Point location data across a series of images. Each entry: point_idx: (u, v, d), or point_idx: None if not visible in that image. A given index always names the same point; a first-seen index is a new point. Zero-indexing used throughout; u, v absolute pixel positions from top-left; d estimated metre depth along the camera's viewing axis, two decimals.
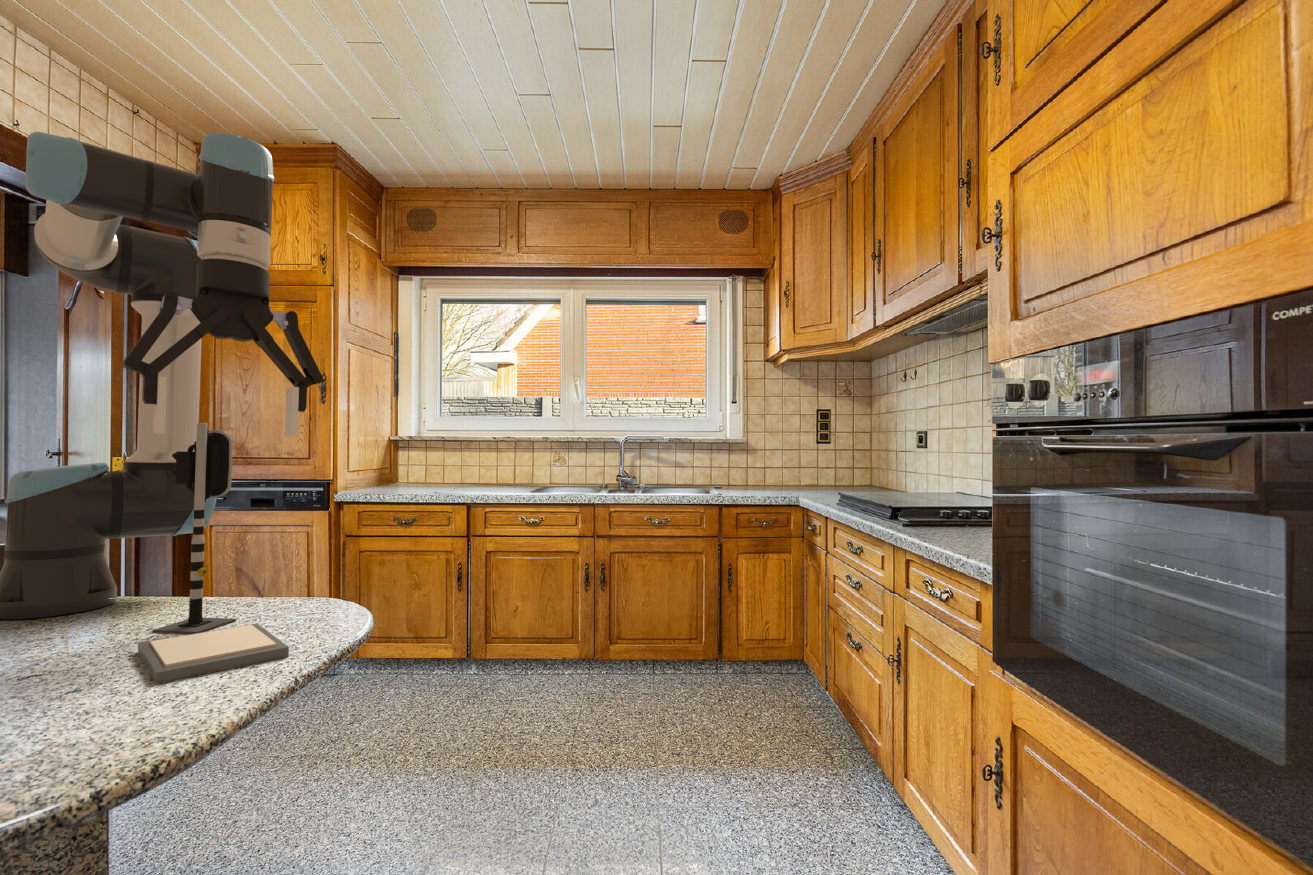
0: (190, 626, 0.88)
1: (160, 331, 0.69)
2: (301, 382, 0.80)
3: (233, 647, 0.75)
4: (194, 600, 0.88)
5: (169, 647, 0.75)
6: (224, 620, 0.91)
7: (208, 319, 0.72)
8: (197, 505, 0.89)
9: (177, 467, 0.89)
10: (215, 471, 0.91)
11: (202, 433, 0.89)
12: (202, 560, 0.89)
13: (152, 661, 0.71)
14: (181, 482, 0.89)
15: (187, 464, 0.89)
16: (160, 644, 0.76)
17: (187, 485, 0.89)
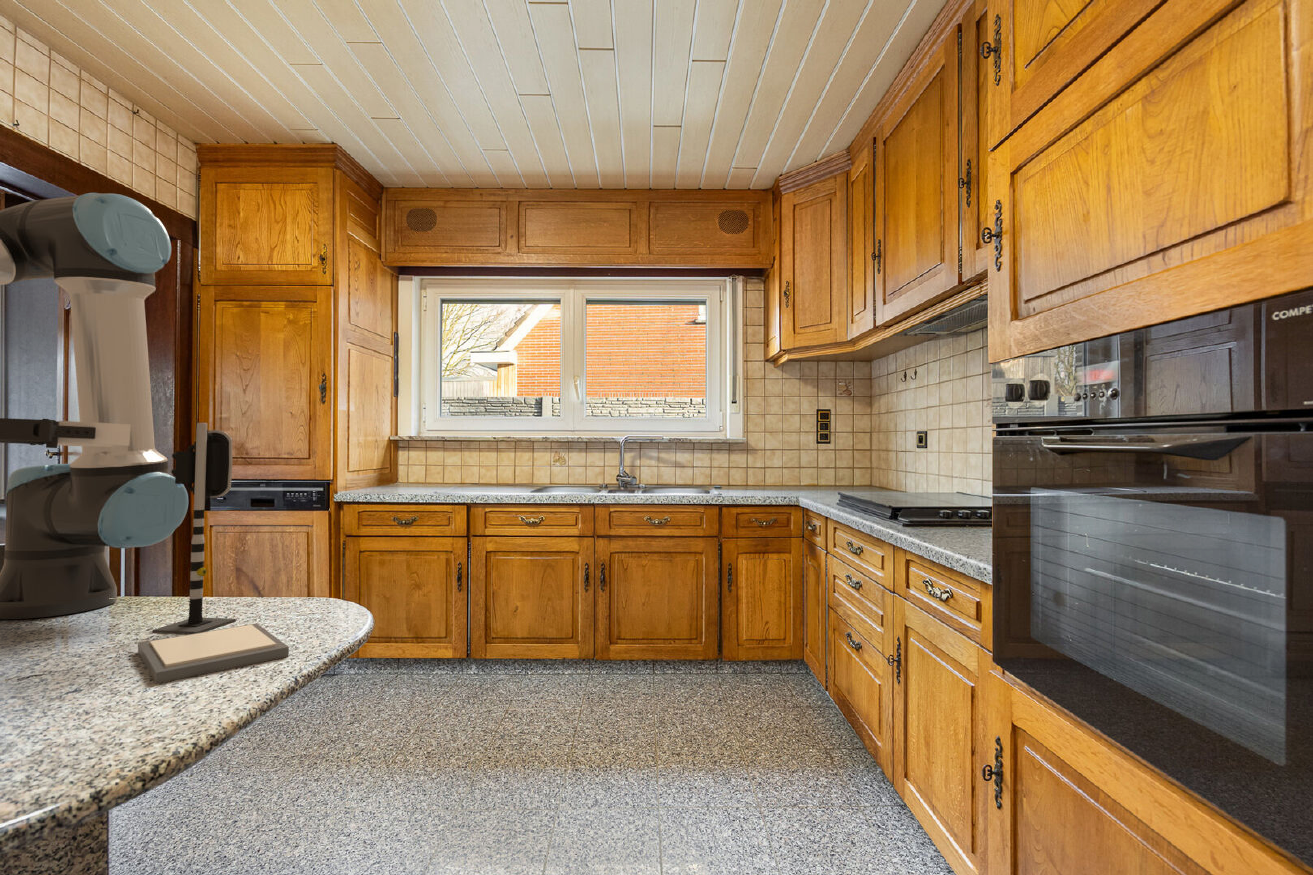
0: (190, 626, 0.88)
1: None
2: None
3: (233, 647, 0.75)
4: (194, 600, 0.88)
5: (169, 647, 0.75)
6: (224, 620, 0.91)
7: None
8: (197, 505, 0.89)
9: (177, 467, 0.89)
10: (215, 471, 0.91)
11: (202, 433, 0.89)
12: (202, 560, 0.89)
13: (152, 661, 0.71)
14: (181, 482, 0.89)
15: (187, 464, 0.89)
16: (160, 644, 0.76)
17: (187, 485, 0.89)
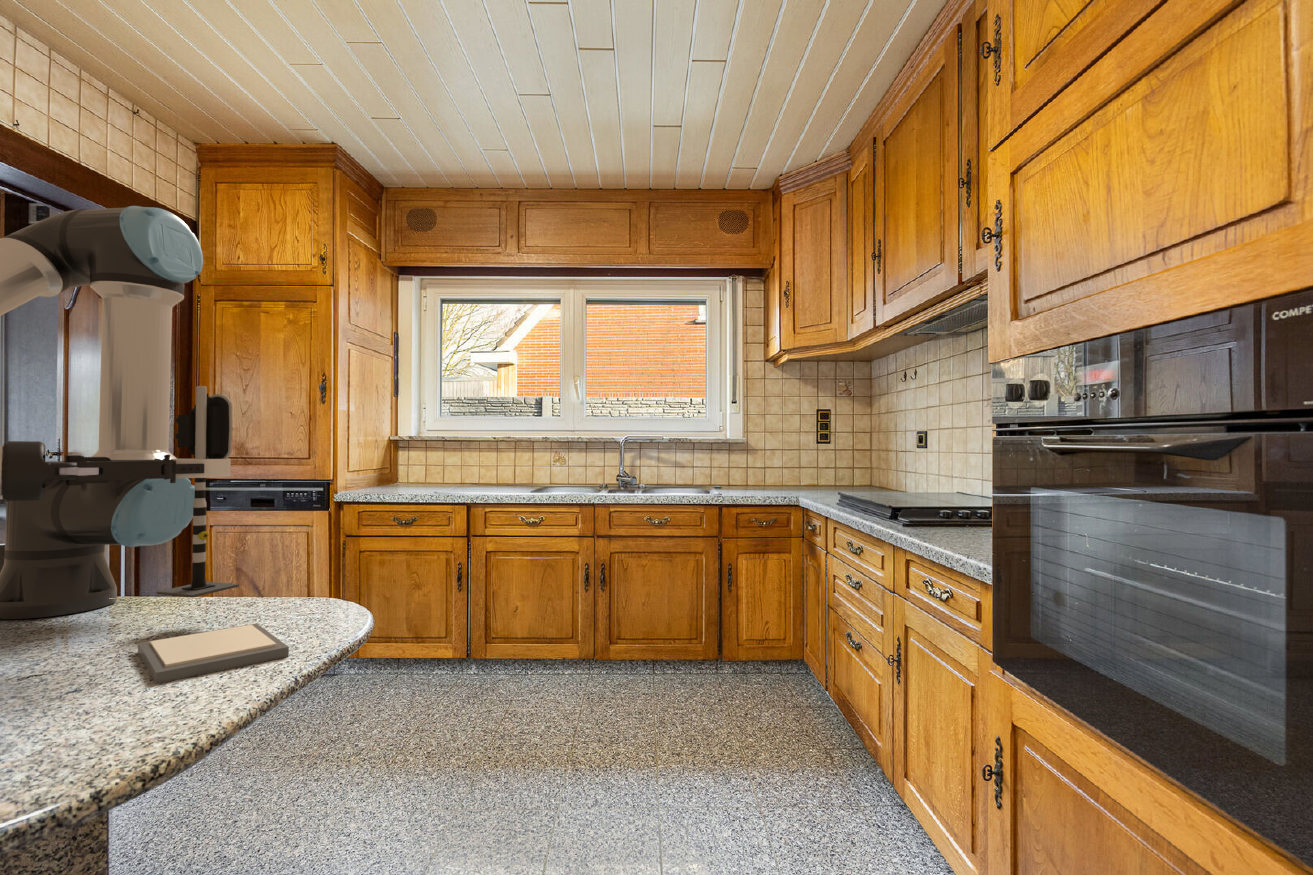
0: (191, 589, 0.87)
1: None
2: None
3: (233, 647, 0.75)
4: (196, 564, 0.88)
5: (169, 647, 0.75)
6: (227, 585, 0.91)
7: None
8: None
9: (179, 431, 0.89)
10: (216, 435, 0.90)
11: (200, 396, 0.89)
12: (203, 524, 0.89)
13: (152, 661, 0.71)
14: (182, 445, 0.89)
15: (188, 427, 0.89)
16: (160, 644, 0.76)
17: (189, 449, 0.89)
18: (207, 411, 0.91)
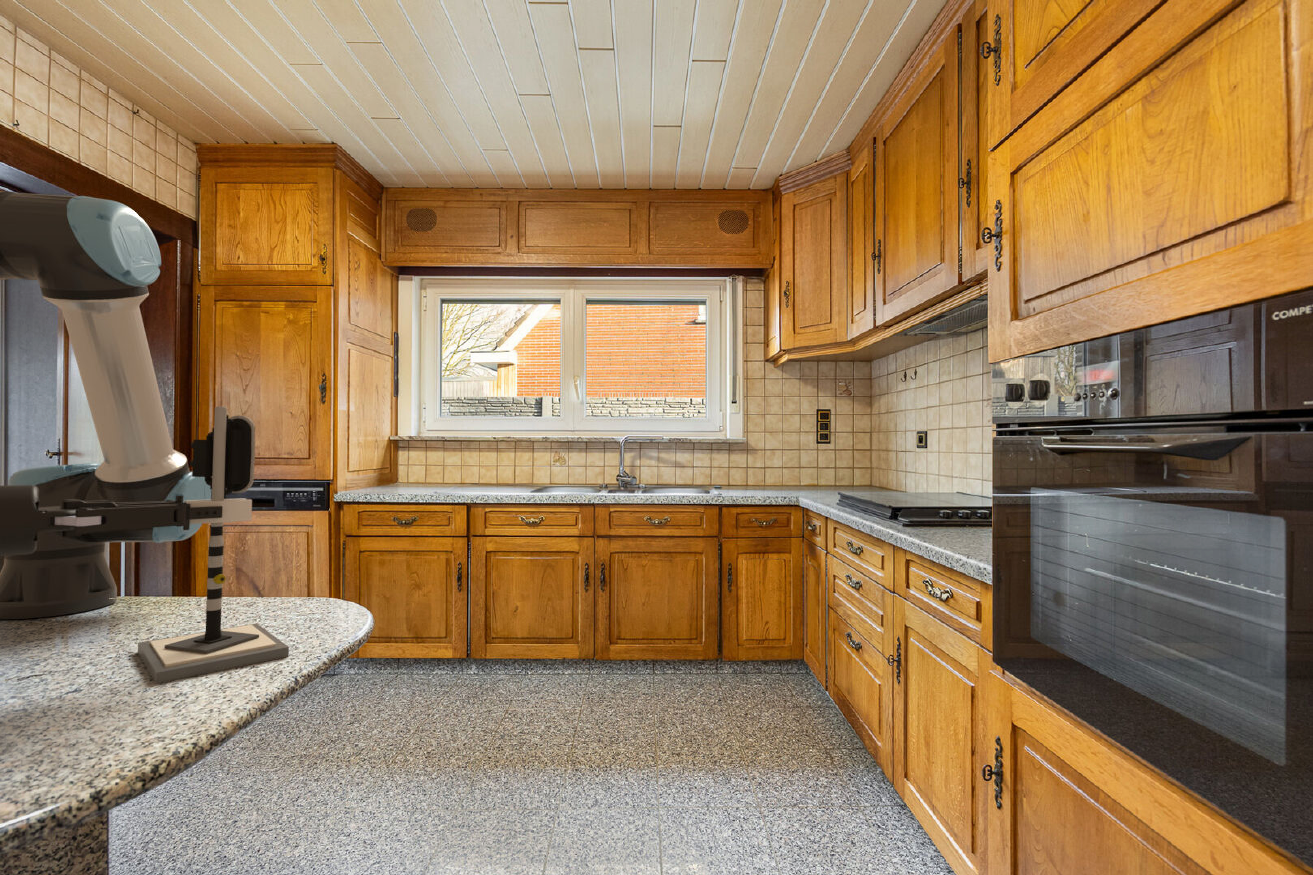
0: (205, 642, 0.75)
1: None
2: None
3: (233, 647, 0.75)
4: (210, 612, 0.76)
5: None
6: (246, 636, 0.78)
7: None
8: None
9: (194, 458, 0.77)
10: (236, 462, 0.79)
11: (220, 418, 0.77)
12: (220, 565, 0.77)
13: (152, 661, 0.71)
14: (198, 475, 0.77)
15: (204, 454, 0.77)
16: (160, 644, 0.76)
17: (205, 478, 0.78)
18: (226, 435, 0.79)
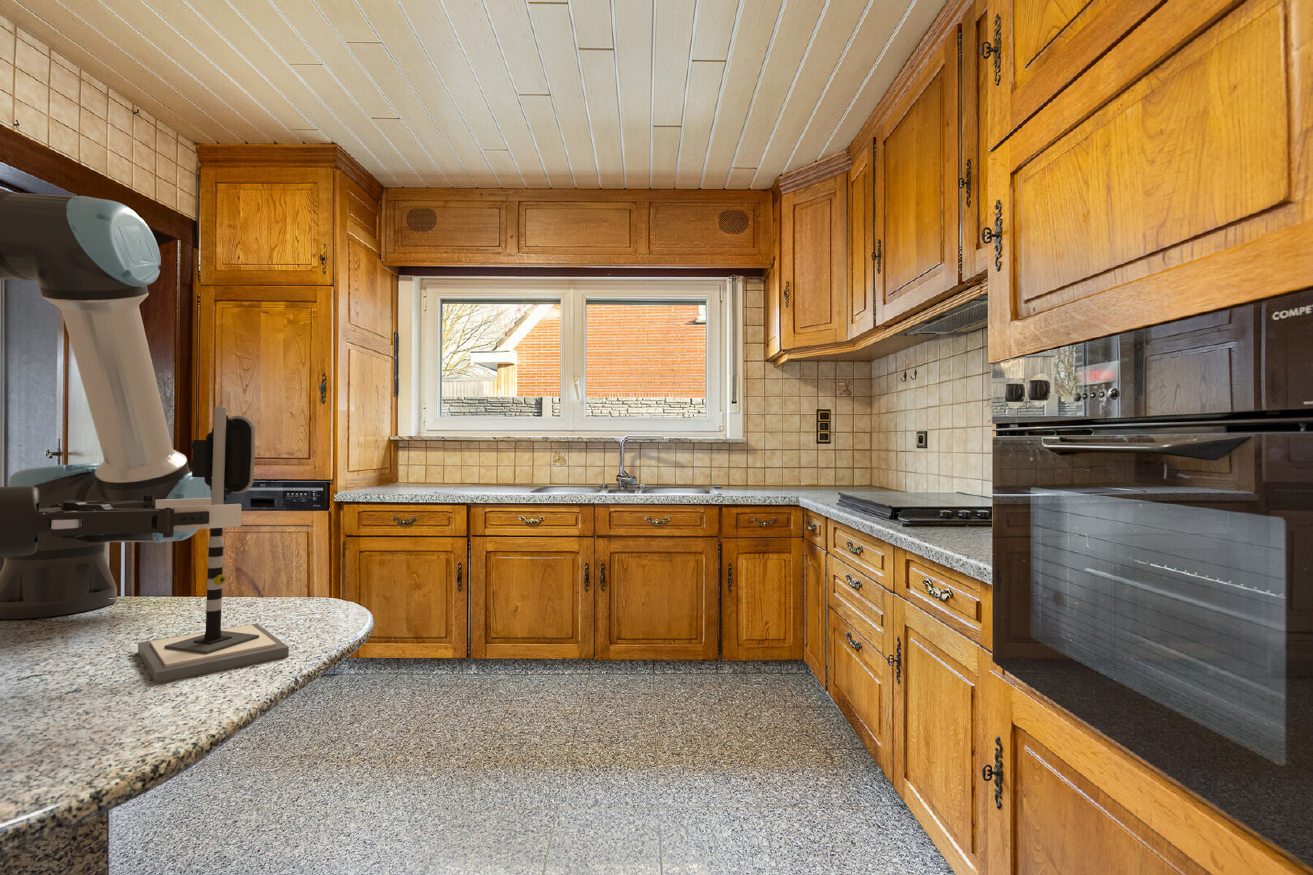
0: (205, 643, 0.75)
1: None
2: None
3: (233, 647, 0.75)
4: (210, 612, 0.76)
5: None
6: (246, 636, 0.78)
7: None
8: (214, 503, 0.77)
9: (194, 458, 0.77)
10: (236, 463, 0.79)
11: (219, 419, 0.77)
12: (220, 566, 0.77)
13: (152, 661, 0.71)
14: (198, 475, 0.77)
15: (204, 454, 0.77)
16: (160, 644, 0.76)
17: (205, 479, 0.78)
18: (226, 435, 0.79)
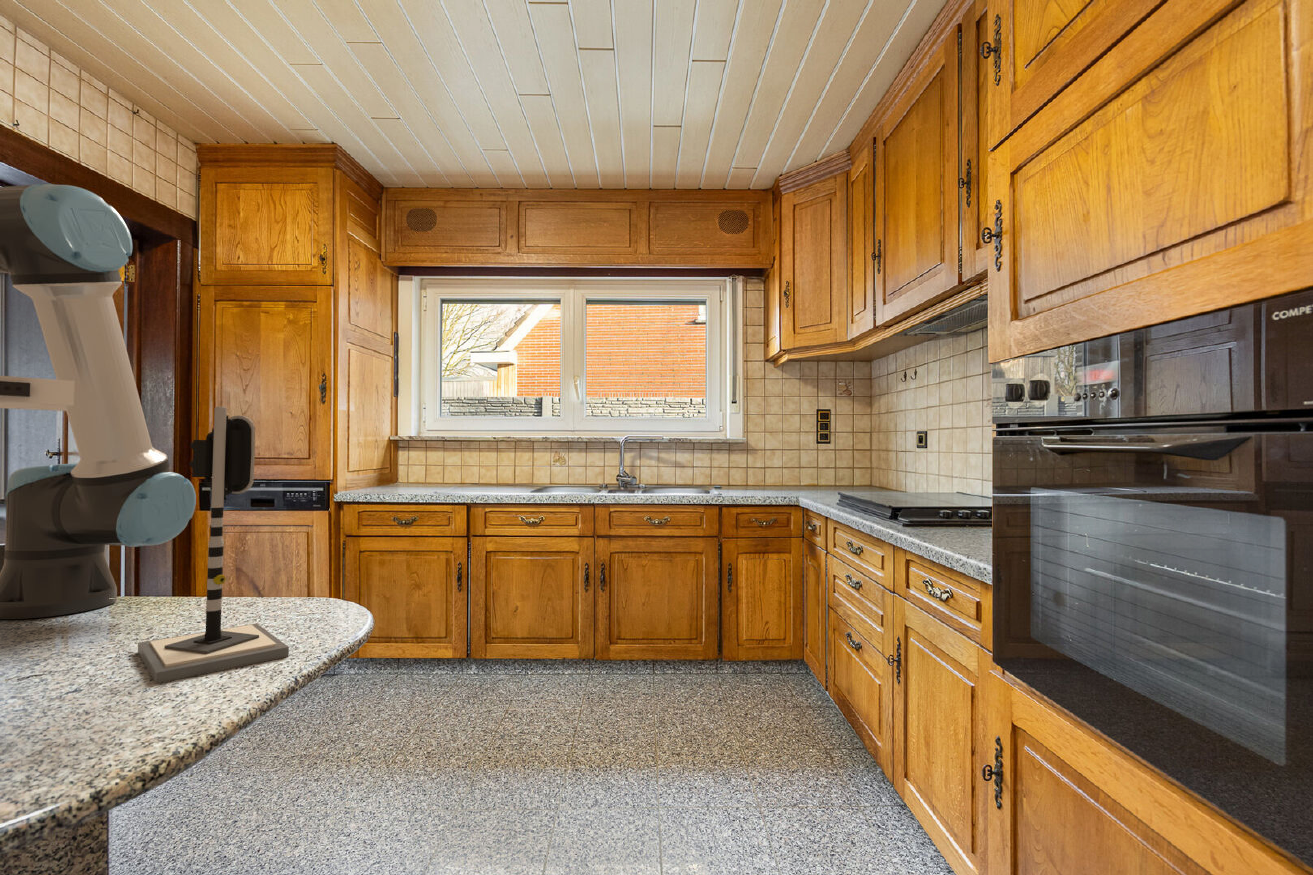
0: (205, 643, 0.75)
1: None
2: None
3: (233, 647, 0.75)
4: (210, 612, 0.76)
5: None
6: (246, 636, 0.78)
7: None
8: (214, 503, 0.77)
9: (194, 458, 0.77)
10: (236, 463, 0.79)
11: (220, 419, 0.77)
12: (220, 566, 0.77)
13: (152, 661, 0.71)
14: (198, 475, 0.77)
15: (204, 454, 0.77)
16: (160, 644, 0.76)
17: (205, 479, 0.78)
18: (226, 435, 0.79)
